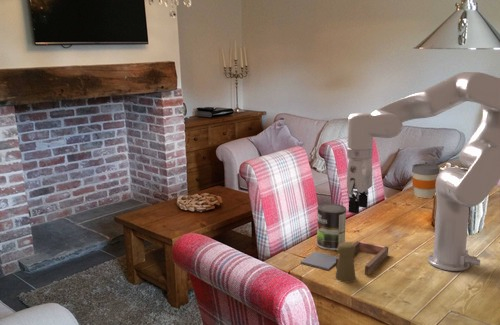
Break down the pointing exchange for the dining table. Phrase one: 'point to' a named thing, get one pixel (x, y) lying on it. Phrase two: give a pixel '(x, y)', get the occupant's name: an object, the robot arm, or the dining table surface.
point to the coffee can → (331, 226)
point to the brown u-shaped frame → (371, 248)
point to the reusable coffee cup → (424, 179)
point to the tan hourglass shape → (345, 262)
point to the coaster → (320, 260)
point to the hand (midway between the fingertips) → (358, 209)
